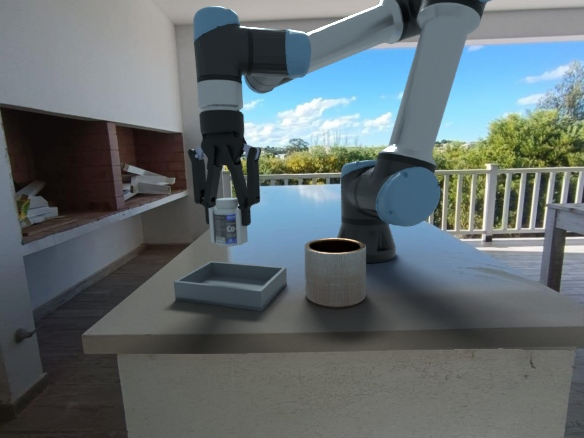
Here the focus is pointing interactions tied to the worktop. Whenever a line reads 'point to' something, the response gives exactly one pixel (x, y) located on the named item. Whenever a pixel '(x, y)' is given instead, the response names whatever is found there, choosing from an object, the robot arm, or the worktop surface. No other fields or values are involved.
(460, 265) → the worktop surface
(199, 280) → the grey tray
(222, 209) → the pill bottle
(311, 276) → the planter
